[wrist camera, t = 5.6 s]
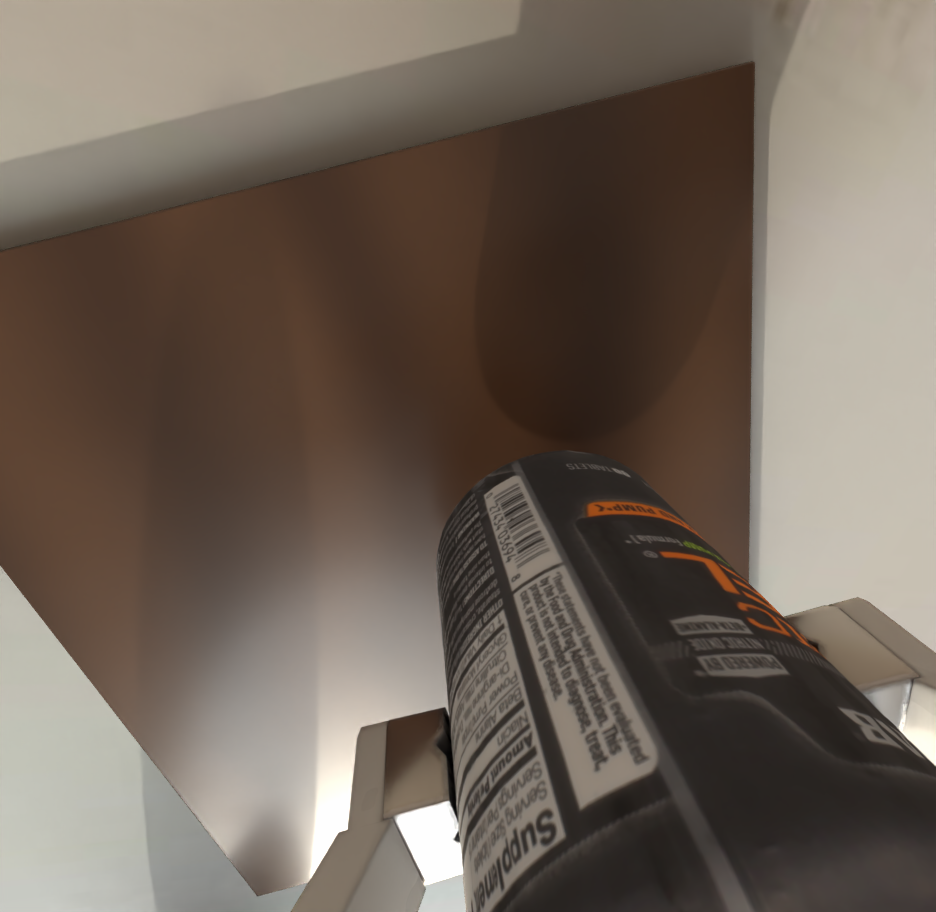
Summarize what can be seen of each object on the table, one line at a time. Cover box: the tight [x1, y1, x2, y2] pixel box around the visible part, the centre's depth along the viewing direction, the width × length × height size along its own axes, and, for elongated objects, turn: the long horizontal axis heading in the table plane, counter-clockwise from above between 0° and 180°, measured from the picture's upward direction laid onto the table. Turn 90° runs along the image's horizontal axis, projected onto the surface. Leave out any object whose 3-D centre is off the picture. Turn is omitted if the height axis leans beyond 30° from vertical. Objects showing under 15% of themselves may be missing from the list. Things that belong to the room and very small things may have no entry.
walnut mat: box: [0, 61, 755, 896], centre depth 15 cm, size 20×23×1 cm
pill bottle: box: [436, 450, 936, 912], centre depth 7 cm, size 6×6×11 cm
